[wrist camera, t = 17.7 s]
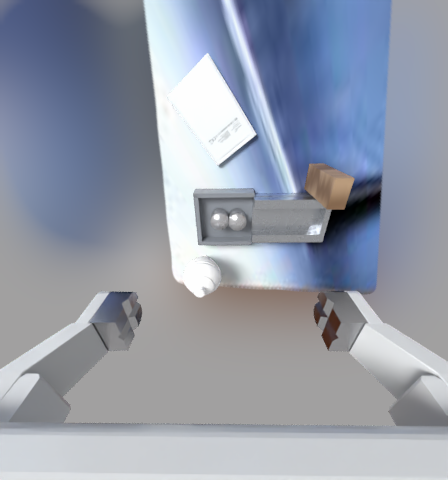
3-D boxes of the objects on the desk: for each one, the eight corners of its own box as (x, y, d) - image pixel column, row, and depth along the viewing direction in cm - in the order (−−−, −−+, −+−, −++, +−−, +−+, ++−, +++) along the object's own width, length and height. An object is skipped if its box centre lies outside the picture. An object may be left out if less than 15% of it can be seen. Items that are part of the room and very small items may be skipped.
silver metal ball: (226, 209, 39) (226, 216, 37) (243, 206, 39) (245, 213, 37) (230, 224, 41) (230, 232, 39) (246, 222, 41) (247, 229, 38)
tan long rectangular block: (309, 163, 35) (335, 178, 27) (323, 163, 35) (354, 178, 27) (304, 188, 38) (327, 209, 29) (317, 188, 38) (344, 209, 29)
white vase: (184, 245, 45) (171, 283, 34) (216, 237, 44) (213, 274, 33) (195, 270, 49) (187, 311, 38) (226, 264, 47) (225, 304, 37)
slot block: (252, 193, 38) (254, 200, 35) (326, 192, 38) (334, 199, 35) (250, 234, 43) (252, 242, 40) (315, 233, 43) (322, 242, 40)
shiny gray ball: (211, 207, 39) (210, 213, 37) (228, 208, 39) (228, 214, 37) (211, 222, 41) (210, 229, 38) (227, 223, 41) (227, 230, 38)
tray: (195, 189, 38) (193, 193, 36) (253, 188, 38) (254, 192, 36) (199, 238, 44) (198, 245, 42) (250, 238, 44) (251, 244, 41)
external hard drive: (208, 55, 28) (255, 133, 34) (168, 98, 31) (217, 164, 36) (207, 52, 27) (257, 134, 32) (165, 97, 30) (217, 166, 35)
